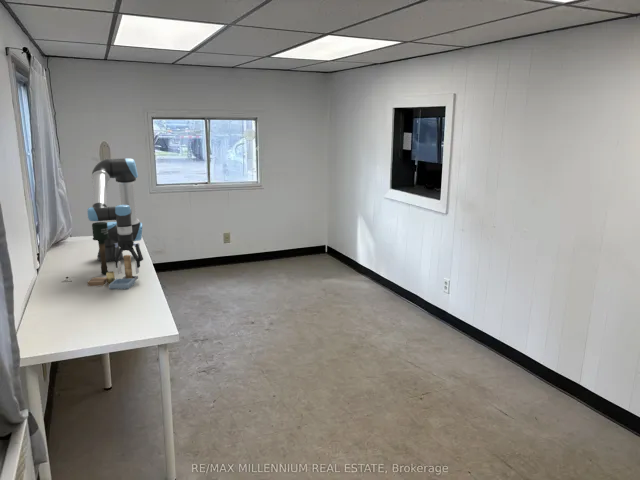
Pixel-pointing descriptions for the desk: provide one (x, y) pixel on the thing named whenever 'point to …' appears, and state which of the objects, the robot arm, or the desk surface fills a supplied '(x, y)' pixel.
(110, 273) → the cylinder
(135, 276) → the holder
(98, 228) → the stick grenade
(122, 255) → the robot arm
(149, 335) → the desk surface
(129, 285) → the tray
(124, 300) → the desk surface
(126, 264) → the dowel
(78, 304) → the desk surface
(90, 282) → the flat cardboard box
